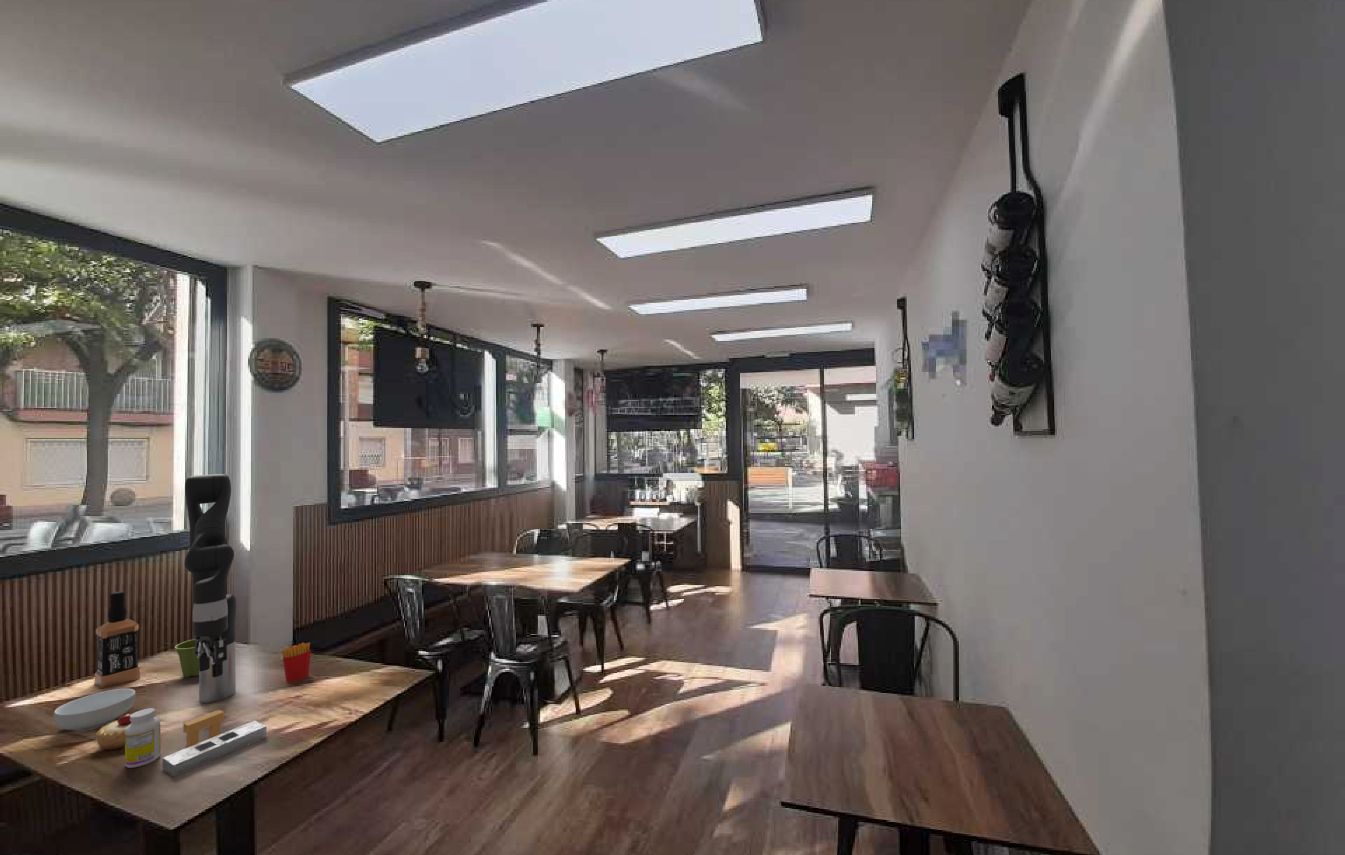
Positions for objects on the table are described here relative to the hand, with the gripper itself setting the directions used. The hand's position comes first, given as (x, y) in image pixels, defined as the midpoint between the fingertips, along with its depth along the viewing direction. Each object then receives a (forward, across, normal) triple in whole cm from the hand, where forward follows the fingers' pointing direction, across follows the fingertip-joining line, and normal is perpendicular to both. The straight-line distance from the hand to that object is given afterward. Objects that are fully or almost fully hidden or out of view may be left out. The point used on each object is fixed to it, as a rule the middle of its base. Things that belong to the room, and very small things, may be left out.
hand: (210, 673), depth 149 cm
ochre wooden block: (+18, -1, -1) cm, 19 cm away
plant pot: (+19, -62, +17) cm, 67 cm away
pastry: (+19, -22, -12) cm, 31 cm away
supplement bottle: (+19, -3, -13) cm, 23 cm away
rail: (+18, +10, -2) cm, 21 cm away
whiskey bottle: (+19, -81, +1) cm, 83 cm away
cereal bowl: (+19, -44, -13) cm, 49 cm away
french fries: (+19, -21, +31) cm, 42 cm away
